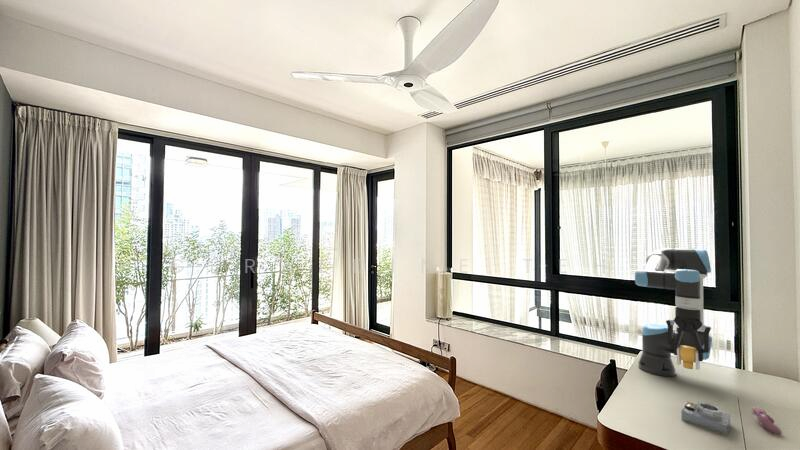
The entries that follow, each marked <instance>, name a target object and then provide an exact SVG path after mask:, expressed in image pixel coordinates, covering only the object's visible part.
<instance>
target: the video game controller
mask: <svg viewBox="0 0 800 450" xmlns="http://www.w3.org/2000/svg"><path fill="white" fill-rule="evenodd" d="M751 409H752V411H751V414H752V415H755V416H756V418H757V420H758V421H759V423H760V426H761V427H763V428H764V429H767V430H768V431H770V432H771V433H773V434H775V433H776V434H775V435H778V434H780V435H782V430H781V429H780V427H778V426H776V425H775V420H774V418H772V417H771V416H770V415H769V414H767V412H766V411H765V410H763V409H762V408H761V407H753V408H751Z"/></svg>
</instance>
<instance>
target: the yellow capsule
mask: <svg viewBox="0 0 800 450" xmlns="http://www.w3.org/2000/svg"><path fill="white" fill-rule="evenodd" d="M695 352H696V348H694V347H690V346H684V345H680V359H681V361H682V367H683V368H684V369H689V370H693V369H694V363H696V354H695Z"/></svg>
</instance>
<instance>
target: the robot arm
mask: <svg viewBox="0 0 800 450" xmlns="http://www.w3.org/2000/svg"><path fill="white" fill-rule="evenodd" d="M665 270H669V271H665ZM709 273H712V268H711V262H710V257H709V253H708V251H707V250H706V249H703V248H702V249H701V248H682V247H681V248H679V247H673V248H671V247H665V248H664V247H663V248H660V249H656V250H654V251H652V252H651V253H649V254H648V255H647V257H646V259H645V266H644V268H643V269H636V271H635V272H634V283H635V285H637V286H639V287H645V288H654V289H655V288H656V289H664V290H665V289H666V290H674V291H675V296H674V297H675V299H674V300H675V304H674V305H675V306H676V307H675V309H674V311H675V317H674V319H667V320H666V321H665V322H666V325H665V324H657V323H655V324H652V323H651V324H645V325H643V327H642V332H641V335H642V339H641V340H642V345H641V346H642V349H641V351H642V353H641V355H640V358H639V360H638V368H639V369H640V370H642V371H644V372H647V373H648V374H652V375H657V376H662V377H675V376H676V373H677V372H676V368H675V365H674V363H673V360H672V354H673V355H674V356H676V364H677V366H680V365H682V360H681V359H680V345H684V346H690V347H694V348H696V352H695V354H696V362H695V370H696V371H697V370H698V371H699V370H700V369H701V367H700V366H701V363H700V362H703V361H707V360H709V358H710V354H711V349H712V342H713V337H712V336H711V335H710V332H711V330H712V327H711V326H708V325H706V324H704V322H705V321H704V312H705V311H704V279H705V278H707V277H708V274H709ZM675 324H676V330H675V329H674V325H675Z"/></svg>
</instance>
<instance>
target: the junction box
mask: <svg viewBox="0 0 800 450" xmlns="http://www.w3.org/2000/svg"><path fill="white" fill-rule="evenodd" d="M681 421H684V422H687V423H689V424H692V425H694V426H697V427H700V428H704V429H706V430H708V431H709V430H710V431H712V432H715V433H718V434H720V435H722V436H728V432H729V430H730V427H731V414H728V413H725V412H723V409H722V408H720V407H718V406H717V405H714V404H710V403H709V402H700V401H699V402H697V403H693V402H690V401H686V403H685V404H684V406H683V407H682V409H681Z"/></svg>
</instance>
